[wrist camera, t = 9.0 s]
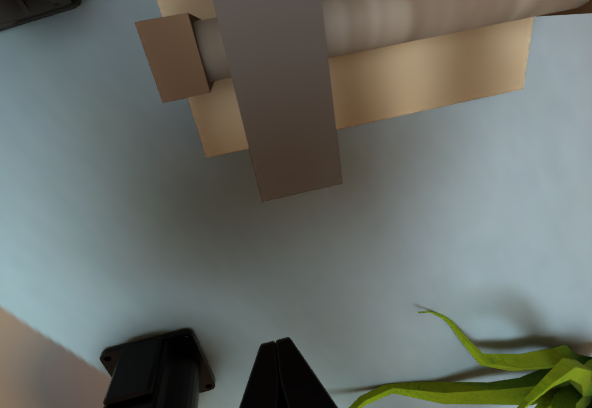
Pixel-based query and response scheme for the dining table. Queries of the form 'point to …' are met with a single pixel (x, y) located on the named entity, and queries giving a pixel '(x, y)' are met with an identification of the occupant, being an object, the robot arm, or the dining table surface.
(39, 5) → the end cap
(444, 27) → the pipe stand
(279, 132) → the collar
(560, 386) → the decorative plant
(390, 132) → the dining table surface
